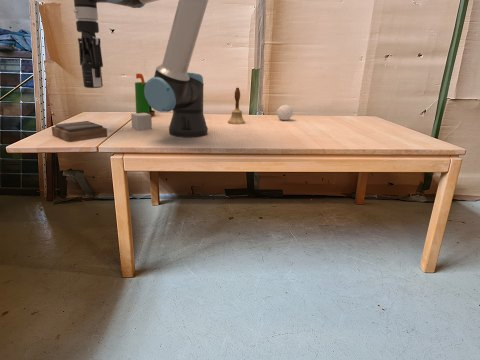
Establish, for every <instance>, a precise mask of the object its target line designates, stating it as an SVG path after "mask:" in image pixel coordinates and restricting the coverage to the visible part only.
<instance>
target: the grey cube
mask: <svg viewBox="0 0 480 360" xmlns="http://www.w3.org/2000/svg"><path fill="white" fill-rule="evenodd" d="M130 115H131V117H130V118H131V128H132V129H133V130H135V131H147V130H153V128H152V127H153V125H152V124H153V123H152V122H153V121H152V117H151V115H150V114H147V113H136V112H134V113H130Z"/></svg>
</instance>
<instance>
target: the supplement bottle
mask: <svg viewBox="0 0 480 360" xmlns="http://www.w3.org/2000/svg"><path fill="white" fill-rule="evenodd" d="M83 59H84V62H82V64H81V65H80V66H81V72H82V73H81V75H82V81H83V83H82V84H83V87H84V88H87V89H98V88H99V89H100V88H103V75H102V74H103V73H102V67H101V68H100V76H101V87H94V85H93V75H92V68H91V67H92V66H93V65H92V61H91V57H90V54H83Z"/></svg>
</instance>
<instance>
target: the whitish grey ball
mask: <svg viewBox="0 0 480 360" xmlns="http://www.w3.org/2000/svg"><path fill="white" fill-rule="evenodd" d="M293 110H294V109H293V107H292V106H291V105H288V104H283V105H282V106H281V105H280V106H279V107H278V109H277V110H276V115H277V118H279V120H281V121H288V120H290V119H291V118H292V116H293V115H294V114H293V113H294V112H293Z"/></svg>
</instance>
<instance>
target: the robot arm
mask: <svg viewBox="0 0 480 360" xmlns="http://www.w3.org/2000/svg"><path fill="white" fill-rule="evenodd" d="M156 1H159V0H73V5H74V9H73V12H74V14H75V19H76V22H75V24H76V31H77V32H78V33H81V37H78V38H77V43H78V50H79V65H80V66H81V64H82V62H84V59H83V54H90V57H91V61H92V65H93V66H92V67H91V68H92V75H93V85H94V87H100V88H102V87H101V76H100V68H101V69H102V68H103V67H104V64H103V56H102V47H101V39H100V38H98V37H97V36H96V34H98V33H99V32H100V28H99V27H100V26H99V22H98V20H99V13H98V3H102V4H104V3H107V4H114V5H119V6H124V7H129V8H133V9H141V8H143V7H144V6H145V5H146V4H150V3H152V2H156ZM208 3H209V0H178V2H177V7H176V10H175V14H174V18H173V22H172V26H171V30H170V34H169V36H168V37H169V38H168V40H167V44H166V47H165V52H164V55H163V56H164V57H163V59H162V63H161V64H160V65H158V66H156V68H155V71H154V75H153V76H152V77H151V78H150V79H148V80H147V81H146V84H145V88H144V94H145V98H146V100H147V101H148V104H149V105H150V106H151V107H152V110H153V111H155V112H156V111H157V112H160V113H164V112H166V113H168V112H169V113H170V112H172V116H171V119H170V124H169V127H168V134H170V135H171V136H175V137H183V138H192V137H193V138H194V137H203V136H206V135H208V131H209V130H208V129H209V128H208V126H207V123H206V119H205V116H204V77H203V75H202V74H200V73H197V72H196V73H195V72H189V71H188V69H189V66H190V63H191V60H192V56H193V53H194V49H195V46H196V42H197V39H198V36H199V33H200V29H201V26H202V22H203V19H204V16H205V13H206V9H207V6H208Z"/></svg>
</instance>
